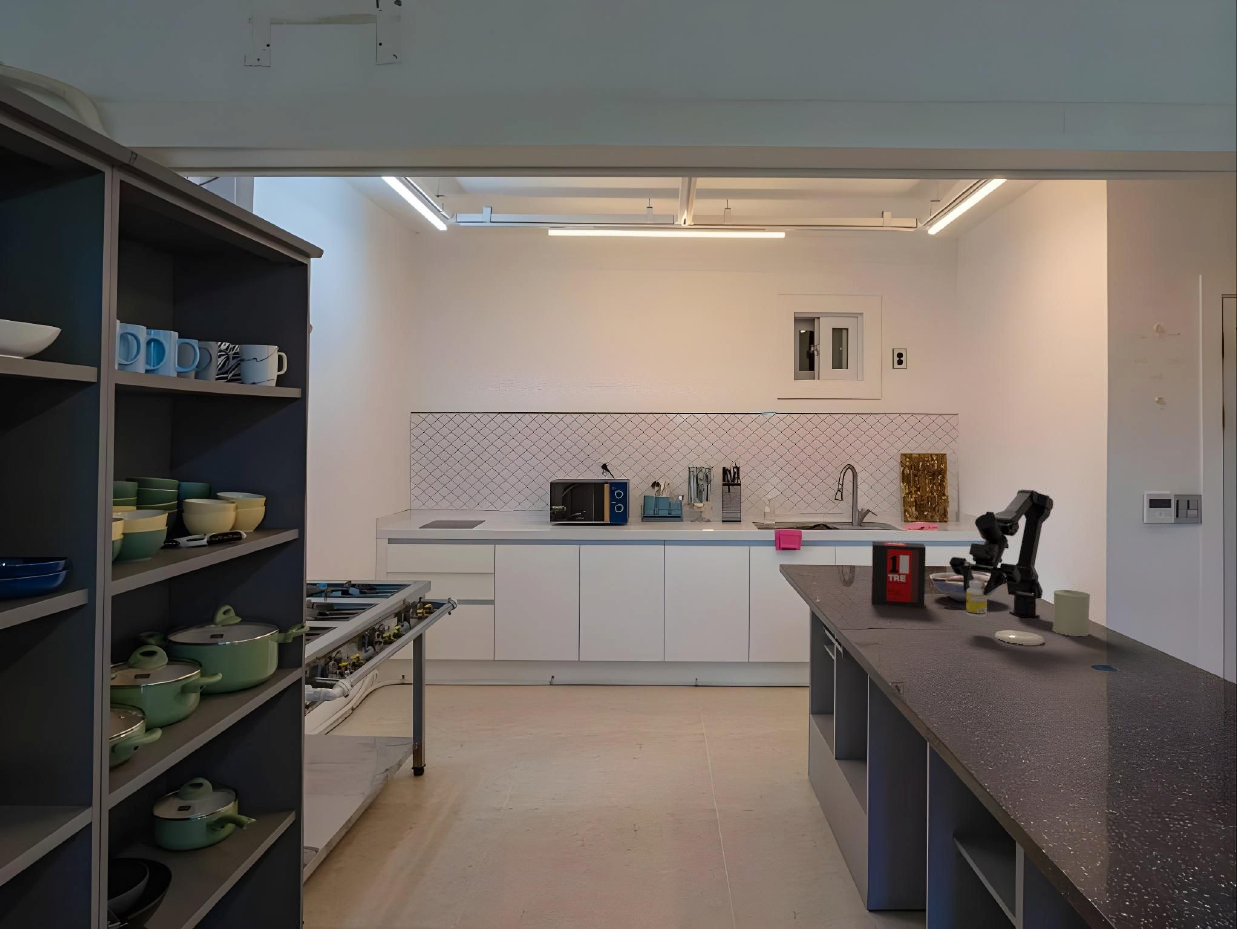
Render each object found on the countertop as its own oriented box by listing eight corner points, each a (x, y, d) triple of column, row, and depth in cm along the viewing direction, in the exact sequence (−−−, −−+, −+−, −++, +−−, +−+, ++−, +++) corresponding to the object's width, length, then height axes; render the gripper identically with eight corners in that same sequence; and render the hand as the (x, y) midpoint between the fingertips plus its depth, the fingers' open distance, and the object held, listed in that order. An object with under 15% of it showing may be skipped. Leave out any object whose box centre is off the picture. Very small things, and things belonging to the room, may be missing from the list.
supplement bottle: (969, 611, 229) (969, 578, 228) (988, 614, 225) (989, 580, 225) (963, 615, 224) (964, 581, 224) (983, 618, 221) (984, 583, 221)
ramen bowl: (989, 593, 280) (990, 571, 280) (1015, 608, 257) (1016, 583, 257) (917, 591, 282) (918, 569, 282) (937, 605, 260) (937, 581, 259)
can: (1079, 629, 230) (1080, 588, 229) (1095, 637, 221) (1096, 595, 220) (1046, 628, 231) (1047, 587, 230) (1061, 636, 222) (1062, 594, 221)
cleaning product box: (922, 601, 266) (923, 543, 265) (924, 607, 257) (925, 547, 256) (871, 598, 270) (872, 541, 270) (871, 603, 262) (872, 544, 261)
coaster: (986, 634, 223) (986, 630, 223) (1025, 633, 224) (1025, 630, 224) (1012, 645, 211) (1012, 642, 211) (1053, 644, 212) (1053, 641, 212)
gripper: (952, 529, 233) (933, 570, 227) (1017, 536, 219) (999, 580, 213) (964, 553, 239) (946, 593, 232) (1028, 561, 225) (1010, 604, 218)
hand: (974, 592), depth 224 cm, fingers closed on supplement bottle, 5 cm apart
